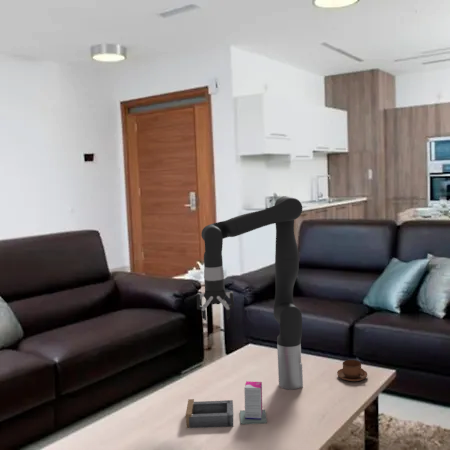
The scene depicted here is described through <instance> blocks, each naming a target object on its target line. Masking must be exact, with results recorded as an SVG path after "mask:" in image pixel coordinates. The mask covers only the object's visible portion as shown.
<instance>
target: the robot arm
mask: <svg viewBox="0 0 450 450" xmlns="http://www.w3.org/2000/svg"><path fill="white" fill-rule="evenodd" d="M302 213H303V204H302V203H301V201H300V200H299V199H298V198H296V197H293V196H288V195H285V196H284V195H283V196H281V197H279V198H277V200H276V201H275V203H274V205H273V206H270V207H268V208H265V209H261V210H257V211H253V212H252V211H251V212H247V213H242V214H241V215H237V216H234V217H230V218H229V219H227V220H223V221H218V222H213V223H211V224H208V225H206V226H204V227H203V229H202V230H201V235H200V236H201V238H202V240H203V242H204V254H203V267H204V268H203V279H204V280H203V281H204V293H200V292H197V294H196V309H197V310H199V311H201V316H202V317H201V318H202V319H203V320H204V321H207V310H206V309H207V307H208V306H209V305H222V306H223V307H224V308H225V313H226V314H225V317H226V320H229V318H230V317H231V309H234V308H235V301H234V300H235V299H234V292H233V291H232V290H230V291H229V292H228V291H226V290H225V273H224V271H225V270H224V267H223V243H224V242H223V241H224V239H226V238H235V237H238V236H241V235H244V234H246V233H249V232H252V231H254V230H258V229H260V228H263V227H266V226H270V225H275V252H274V253H275V254H274V255H275V256H274V257H275V260H274V263H275V264H274V265H275V266H274V267H275V268H274V269H275V271H274V273H275V275H274V276H275V279H274V280H275V281H274V282H275V295H274V303H273V317H274V320H275V321H276V322H277V323H278V324H279V334H278V335H277V337H276V343H277V347H276V349H277V371H278V386H279V387H280V388H281V389H285V390H296V389H299V388H303V387H304V384H303V383H304V380H303V379H304V378H303V375H304V374H303V363H302V346H301V345H302V344H301V342H302V337H303V315H302V312H301V311H302V310H301V309H300V308H299V307H298V306H296V305H295V303H294V286H295V284H296V280H297V278H298V274H299V267H300V263H299V262H300V261H299V260H300V257H299V256H300V255H299V249H298V248H299V247H298V243H297V239H296V235H295V220H297V219H298V218H300V217H301V215H302ZM203 297H204V298H205V302H204V304H203V305H201V300H202V299H203ZM226 297H227V298H228V299H230V303H228V302H227V301H226V300H225V298H226Z"/></svg>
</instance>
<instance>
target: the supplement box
mask: <svg viewBox="0 0 450 450" xmlns="http://www.w3.org/2000/svg"><path fill="white" fill-rule="evenodd" d="M262 383H263V382H262V381H247V380H246V382H245V384H244V410H245V419H255V420H261V416H262V410H263V384H262Z"/></svg>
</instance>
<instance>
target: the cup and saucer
mask: <svg viewBox="0 0 450 450" xmlns="http://www.w3.org/2000/svg"><path fill="white" fill-rule="evenodd" d="M336 375H337V376H338V377H339V378H340V379H342V380H344V381H349V382H358V381H362V380H365V379H366V378H368V377H367V376H368V373H367V371H366V370H364V369H363V368H362V363H361V361H359V360H356V359H347V360H344V361H342V368H340V369H338V370H337V372H336Z"/></svg>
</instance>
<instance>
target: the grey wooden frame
mask: <svg viewBox="0 0 450 450" xmlns="http://www.w3.org/2000/svg"><path fill="white" fill-rule="evenodd" d="M185 425H186V429H205V428H206V429H207V428H227V427H231V428H232V427H234V401H233V400H232V399H230V400H226V399H225V400H206V401H205V400H204V401H195V399H194V398H192V399H190V398H189V399H188V400H187V406H186V410H185Z"/></svg>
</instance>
